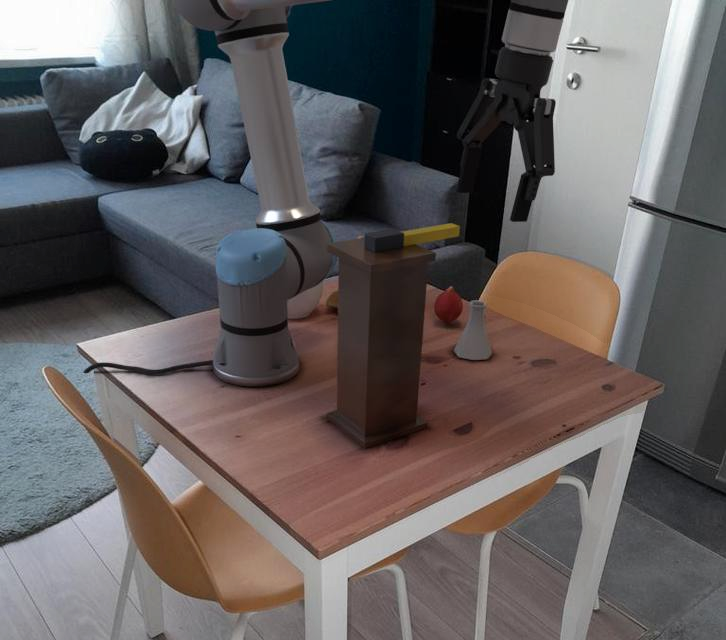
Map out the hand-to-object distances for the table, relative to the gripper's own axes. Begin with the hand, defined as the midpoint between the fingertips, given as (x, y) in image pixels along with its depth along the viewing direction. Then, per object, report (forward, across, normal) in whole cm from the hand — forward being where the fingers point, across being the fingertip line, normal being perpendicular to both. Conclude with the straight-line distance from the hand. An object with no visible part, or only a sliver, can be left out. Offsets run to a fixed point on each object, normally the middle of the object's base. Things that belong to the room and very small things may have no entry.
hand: (490, 206), depth 121 cm
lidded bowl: (+36, +43, +8) cm, 57 cm away
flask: (+31, +10, -13) cm, 35 cm away
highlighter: (+4, -3, +15) cm, 16 cm away
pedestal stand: (+33, -5, +18) cm, 37 cm away
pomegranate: (+32, +24, -17) cm, 43 cm away
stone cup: (+34, +39, -7) cm, 52 cm away
